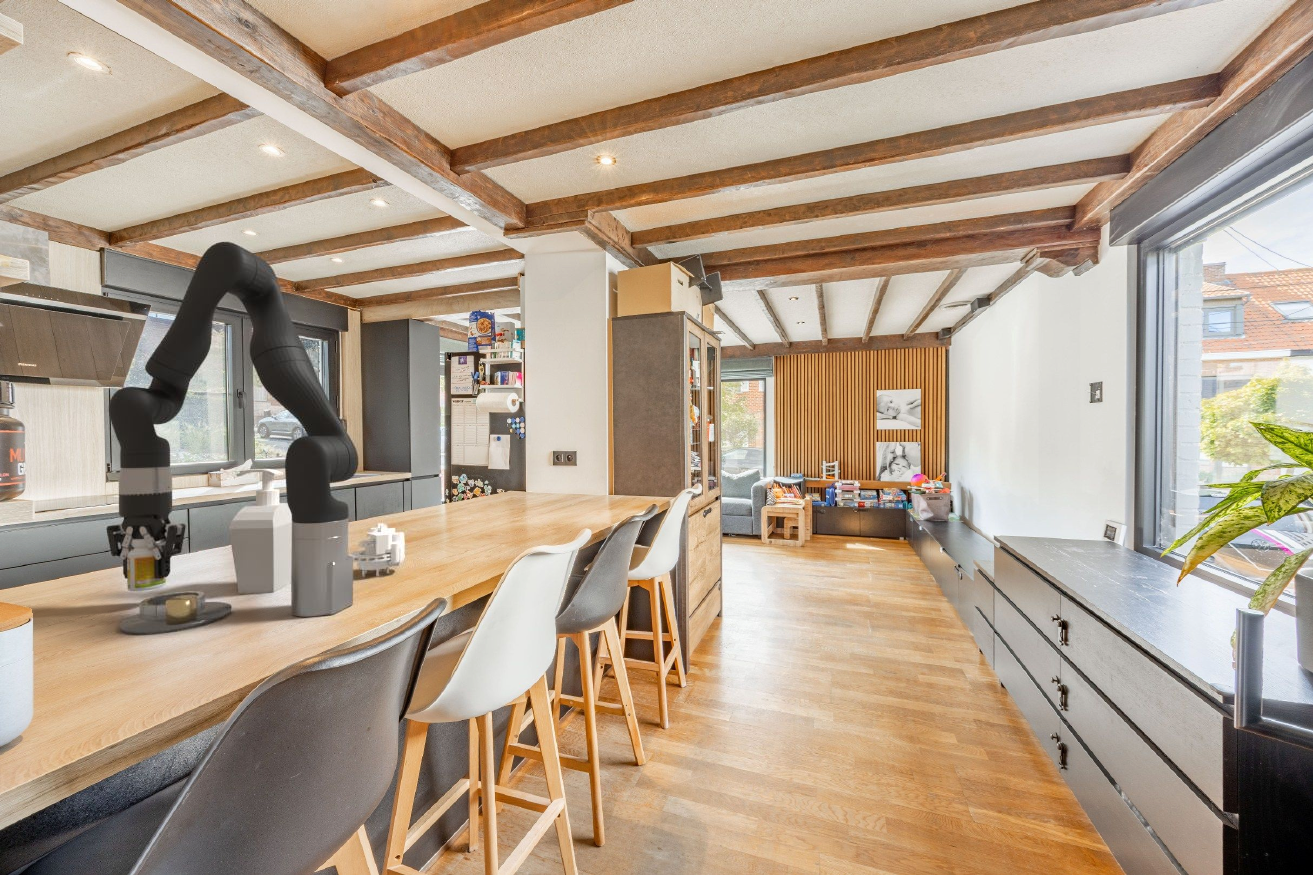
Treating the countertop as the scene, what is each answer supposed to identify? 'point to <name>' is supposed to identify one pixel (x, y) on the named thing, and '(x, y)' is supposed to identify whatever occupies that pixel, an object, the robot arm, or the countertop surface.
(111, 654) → the countertop surface
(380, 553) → the mechanical part
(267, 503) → the soap bottle
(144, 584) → the supplement bottle
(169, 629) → the carrier plate
